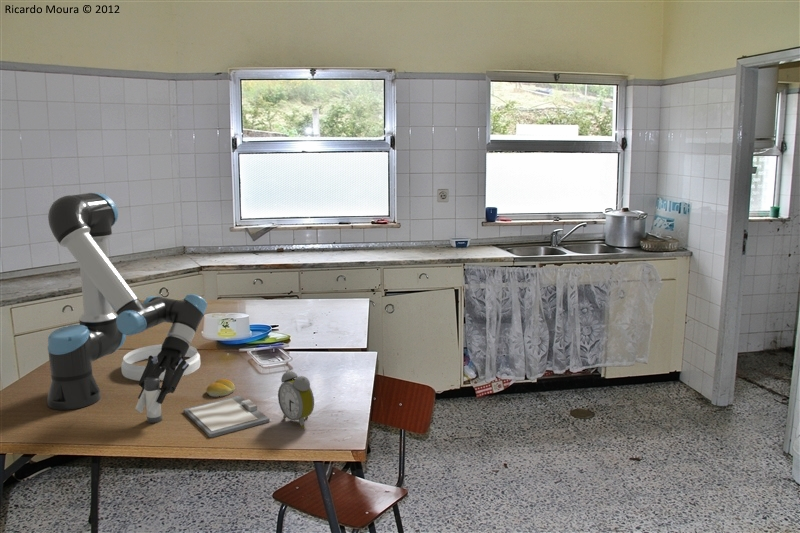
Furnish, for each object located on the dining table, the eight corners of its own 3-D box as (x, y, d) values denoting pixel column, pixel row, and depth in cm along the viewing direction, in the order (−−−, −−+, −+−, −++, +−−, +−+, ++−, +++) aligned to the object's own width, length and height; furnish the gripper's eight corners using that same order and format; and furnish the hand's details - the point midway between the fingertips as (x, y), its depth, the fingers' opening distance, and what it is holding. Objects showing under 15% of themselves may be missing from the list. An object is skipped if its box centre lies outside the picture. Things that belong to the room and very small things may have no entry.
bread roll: (201, 395, 214) (201, 384, 213) (219, 386, 222) (218, 375, 221) (222, 399, 211) (222, 387, 210) (239, 389, 219) (239, 378, 218)
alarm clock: (277, 419, 196) (276, 371, 193) (296, 412, 200) (295, 365, 197) (301, 431, 187) (299, 381, 185) (320, 424, 192) (319, 375, 189)
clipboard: (183, 411, 200) (183, 404, 200) (239, 398, 211) (239, 391, 211) (210, 437, 183) (210, 429, 183) (269, 421, 194) (269, 414, 193)
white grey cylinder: (145, 419, 195) (142, 378, 192) (159, 416, 197) (156, 375, 195) (149, 424, 191) (146, 382, 189) (163, 420, 194) (161, 379, 191)
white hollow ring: (149, 387, 221) (148, 372, 220) (107, 370, 237) (105, 356, 236) (215, 366, 242) (215, 352, 241) (172, 352, 258) (171, 338, 257)
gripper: (207, 349, 202) (175, 421, 190) (161, 343, 208) (128, 413, 196) (195, 338, 196) (162, 411, 184) (149, 332, 202) (113, 402, 190)
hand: (144, 411), depth 190 cm, fingers closed on white grey cylinder, 4 cm apart
